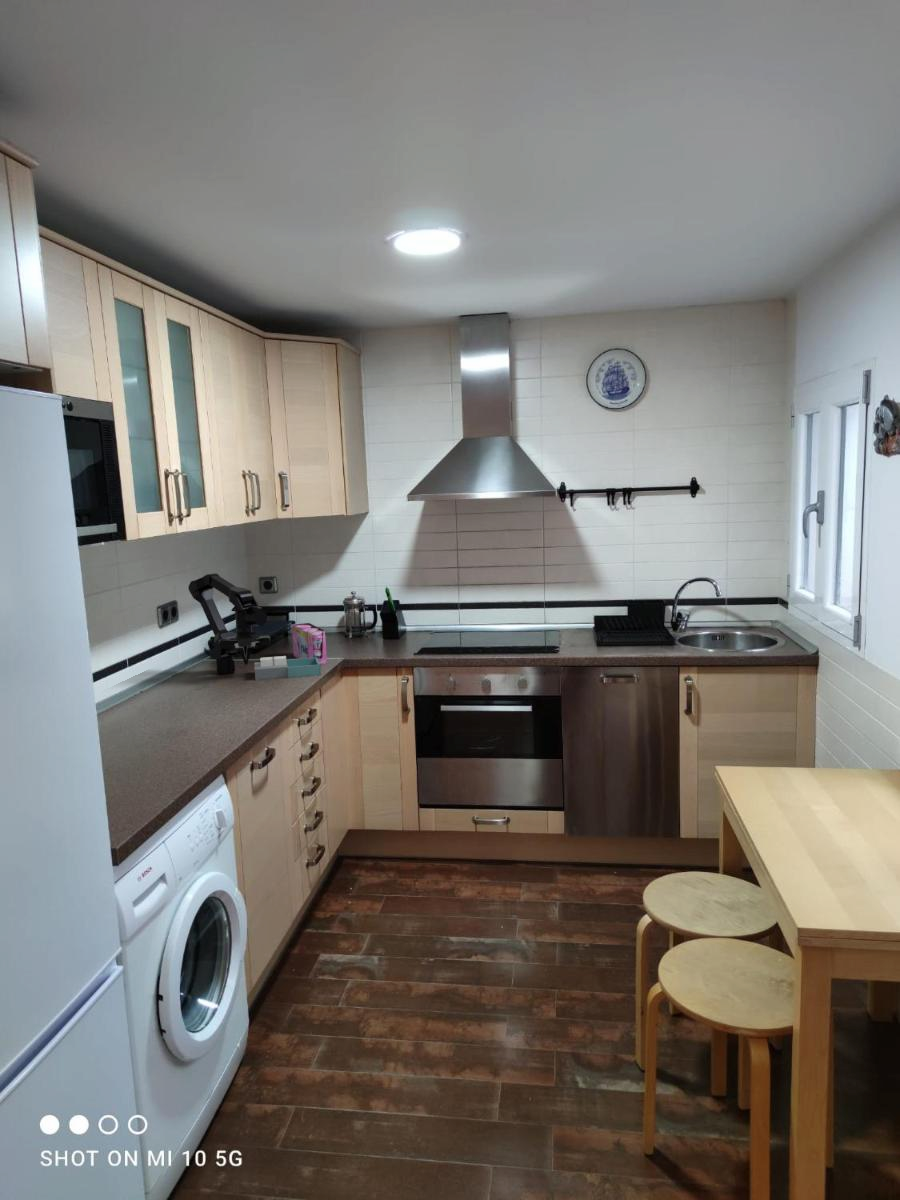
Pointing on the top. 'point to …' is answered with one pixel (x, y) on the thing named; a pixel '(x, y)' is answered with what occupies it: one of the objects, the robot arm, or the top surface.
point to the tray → (303, 667)
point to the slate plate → (270, 671)
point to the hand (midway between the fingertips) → (246, 664)
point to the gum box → (309, 642)
